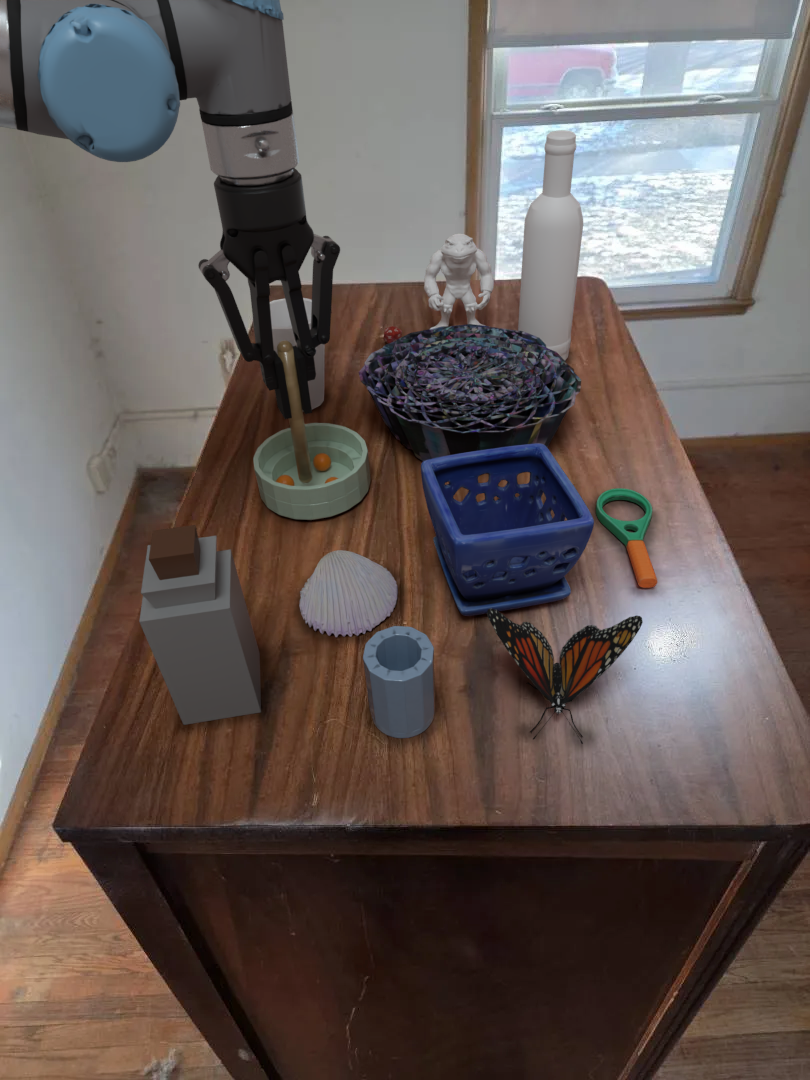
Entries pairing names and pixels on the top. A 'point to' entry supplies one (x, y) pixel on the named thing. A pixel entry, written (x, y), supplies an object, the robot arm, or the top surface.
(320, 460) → the bead
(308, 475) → the stick
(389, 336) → the die
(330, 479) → the bead
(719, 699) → the top surface
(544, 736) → the top surface
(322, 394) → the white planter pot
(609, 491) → the magnifying glass
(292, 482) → the bead
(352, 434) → the bowl
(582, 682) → the butterfly
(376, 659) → the holder
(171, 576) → the perfume bottle
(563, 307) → the bottle
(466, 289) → the figurine
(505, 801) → the top surface
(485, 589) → the flower pot
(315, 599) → the seashell
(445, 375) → the decorative bowl
